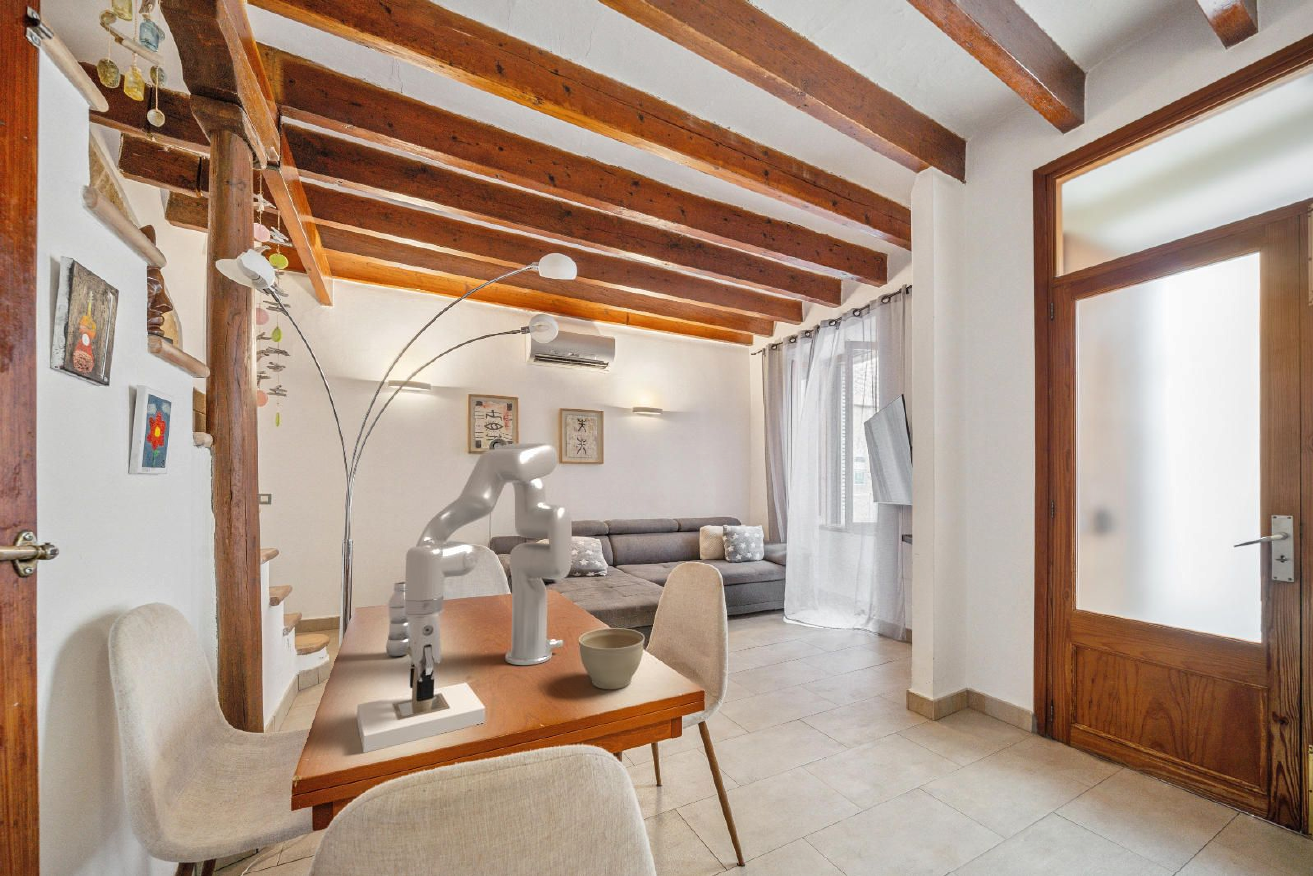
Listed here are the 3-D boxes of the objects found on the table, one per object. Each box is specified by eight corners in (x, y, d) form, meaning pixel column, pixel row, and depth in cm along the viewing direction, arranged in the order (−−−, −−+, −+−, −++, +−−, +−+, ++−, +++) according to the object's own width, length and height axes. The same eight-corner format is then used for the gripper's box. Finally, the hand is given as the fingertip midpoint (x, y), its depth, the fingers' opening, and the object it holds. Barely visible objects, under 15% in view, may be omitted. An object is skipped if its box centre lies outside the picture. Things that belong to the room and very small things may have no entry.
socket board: (465, 696, 124) (466, 681, 124) (485, 723, 110) (485, 707, 110) (356, 719, 112) (357, 703, 112) (363, 753, 98) (364, 735, 99)
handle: (430, 726, 109) (433, 650, 110) (400, 725, 109) (403, 649, 110) (441, 716, 113) (444, 643, 115) (412, 715, 114) (415, 642, 115)
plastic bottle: (391, 651, 154) (393, 581, 156) (415, 651, 155) (417, 580, 156) (381, 659, 148) (384, 585, 149) (407, 658, 148) (409, 585, 150)
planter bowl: (571, 675, 136) (572, 632, 137) (631, 667, 142) (631, 625, 143) (587, 700, 121) (588, 651, 122) (654, 690, 127) (654, 643, 128)
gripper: (452, 612, 107) (449, 704, 106) (434, 595, 122) (432, 676, 121) (411, 617, 103) (408, 713, 102) (398, 600, 118) (395, 683, 117)
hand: (421, 692), depth 111 cm, fingers open, 7 cm apart
